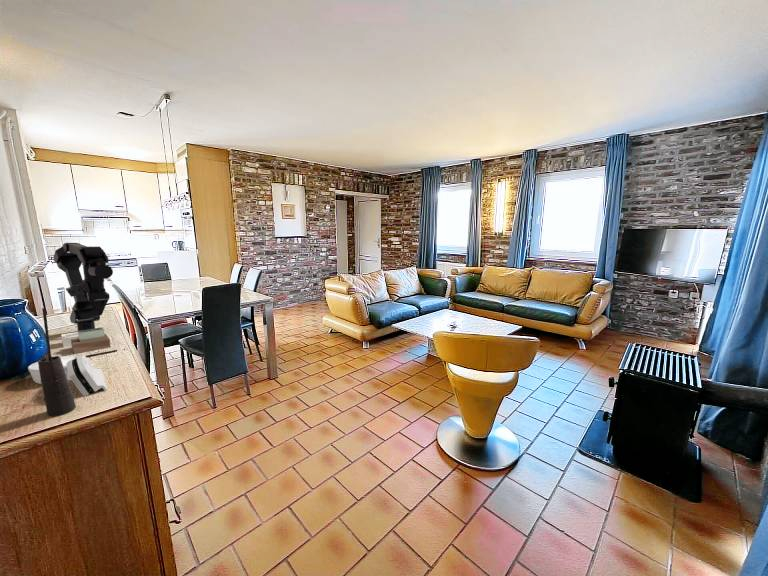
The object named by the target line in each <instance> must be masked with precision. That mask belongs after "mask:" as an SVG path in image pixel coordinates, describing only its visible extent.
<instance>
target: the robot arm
mask: <svg viewBox="0 0 768 576" xmlns="http://www.w3.org/2000/svg"><path fill="white" fill-rule="evenodd" d="M53 261H54V263H55V264H56V266H57V267H58V269H59V270H61V271H62V272H64V273H65V276H66V279H67V281H68V285H69V286H68V287H66V288H65V291H66V293H68V294H69V296H70V297H73V299H74V304H73V306H72V308H71V310H72V311H71V313H70V316H69V321H70V323H72V324H74V325H76V328H77V332H78V331H81V330H88V329H94V328H96V324H95V321H100V320H101V316H102V315H103V313H104V311H105V308H106V306H107V304H108V301H110V293H109V292H107V291H106V288H105V283H104V282H105V280H107V279H109V278H111V277H112V276H113V274H114V271H113V268H112V267H111V266H110V265H107V264H109V257H108V255H107V254H106V252H105V250H104V249H103V248H102V247H100V246H88V245H85V244H82V243H80V242H64V243H63V245H62V246H61V247H59V248H57V249H56V250H55V251H54V254H53ZM81 266H82V269H83V276H84V277H83V276H82V274H81V272H80V271H81V270H80V267H81Z"/></svg>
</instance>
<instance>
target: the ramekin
mask: <svg viewBox="0 0 768 576" xmlns="http://www.w3.org/2000/svg"><path fill="white" fill-rule="evenodd" d="M59 357H60V358H61V361H62V364H63V368H64V371H65V374H66V376H67V380H69V379H71V378H70V377H69V374H68V371H67V362H69V361H70V360H72V359H76V358H77V357H78V356H76V355H65V356H59ZM27 370H28V372H29V373H30V375H31V379H32V380H33V382H35V383H36V384H39V385H42V383H41V377H40V372H39V365H38V361H36V362H34V363H31V364H30V365H29V366H27Z"/></svg>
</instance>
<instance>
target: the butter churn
mask: <svg viewBox="0 0 768 576" xmlns="http://www.w3.org/2000/svg"><path fill="white" fill-rule="evenodd" d="M46 310H47V309H46V307H42V317H43V319H42V320H43V325H44V331H45V339H46V347H47V348H46V349H47V350H46V351H47V354H45V355H42V356H41V357H42V358H40V359H39V360H38V361H37V362H38V365H39V372H40V377H41V383H42V384H41V386H42V392H43V395H44V396H43V397H44V398H43V400H44V403H45V407H46V409H45V410H46V415H47V416H48V417H58V416H63V415H65V414H68V413H70V412H72V411H74V410H75V409H76V408H77V406H76V402H75V399H74V395H73V392H72V389H71V387H70V384H69V379H67V376H66V374H65V371H64V368H63V364H62V361H61V358H60V357H61V356H58V355H55V356H52V349H51V345H50V336H49V327H48V318H47V316H48V315H47V311H46Z"/></svg>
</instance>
